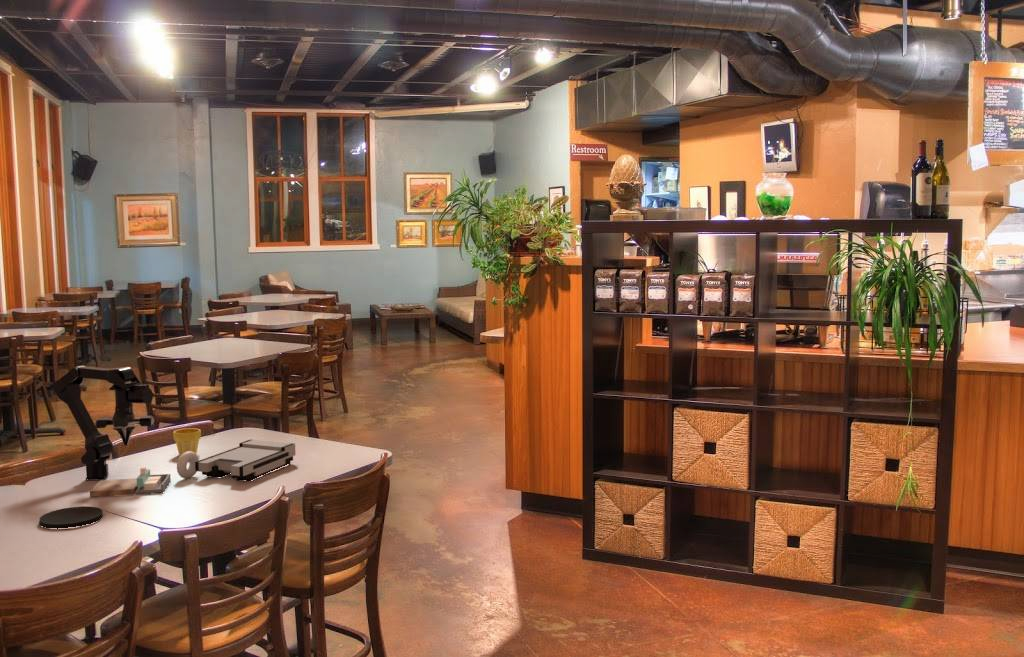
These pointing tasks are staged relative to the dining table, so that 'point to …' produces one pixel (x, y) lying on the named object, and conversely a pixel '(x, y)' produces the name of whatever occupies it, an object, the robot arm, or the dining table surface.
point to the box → (161, 488)
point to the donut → (182, 464)
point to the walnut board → (115, 487)
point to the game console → (248, 460)
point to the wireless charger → (71, 517)
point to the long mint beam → (143, 477)
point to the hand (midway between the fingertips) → (126, 445)
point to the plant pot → (187, 439)
